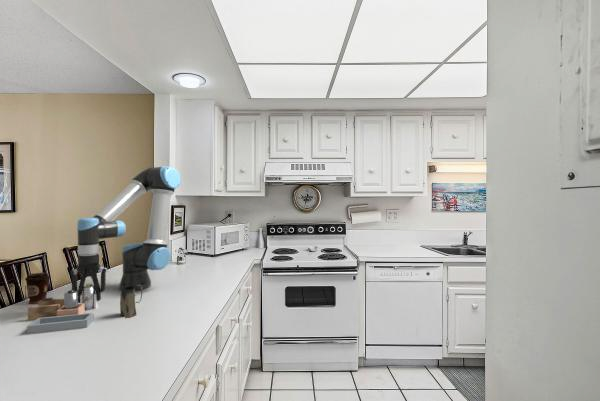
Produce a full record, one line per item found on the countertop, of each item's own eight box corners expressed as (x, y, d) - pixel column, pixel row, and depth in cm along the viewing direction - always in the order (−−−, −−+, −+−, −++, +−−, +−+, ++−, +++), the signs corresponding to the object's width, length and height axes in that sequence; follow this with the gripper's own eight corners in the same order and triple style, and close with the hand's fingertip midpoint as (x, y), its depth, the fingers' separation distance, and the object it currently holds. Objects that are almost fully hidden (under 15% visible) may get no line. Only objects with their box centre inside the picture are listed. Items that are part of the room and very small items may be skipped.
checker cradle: (69, 310, 137) (69, 296, 137) (60, 319, 127) (59, 303, 127) (38, 313, 134) (38, 298, 134) (26, 322, 124) (26, 306, 124)
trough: (94, 321, 125) (93, 312, 125) (87, 329, 118) (87, 320, 118) (38, 327, 120) (38, 318, 120) (27, 335, 112) (27, 326, 112)
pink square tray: (84, 315, 131) (84, 303, 131) (78, 321, 125) (78, 308, 125) (64, 317, 129) (64, 305, 129) (57, 324, 123) (56, 310, 122)
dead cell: (79, 315, 130) (79, 288, 130) (75, 319, 125) (75, 291, 125) (67, 316, 128) (66, 289, 128) (62, 320, 124) (62, 292, 124)
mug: (118, 318, 127) (118, 288, 127) (122, 313, 133) (122, 284, 133) (140, 316, 129) (140, 286, 129) (143, 312, 135) (143, 283, 135)
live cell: (96, 307, 141) (96, 282, 141) (93, 310, 137) (93, 285, 137) (85, 308, 140) (84, 283, 140) (81, 312, 136) (81, 286, 135)
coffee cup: (35, 305, 144) (34, 276, 144) (20, 304, 146) (19, 275, 146) (53, 299, 153) (53, 272, 153) (39, 298, 154) (39, 271, 154)
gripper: (113, 251, 144) (114, 304, 144) (68, 254, 139) (68, 308, 139) (109, 254, 137) (110, 309, 137) (60, 257, 132) (61, 314, 132)
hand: (89, 309), depth 138 cm, fingers closed on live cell, 4 cm apart
